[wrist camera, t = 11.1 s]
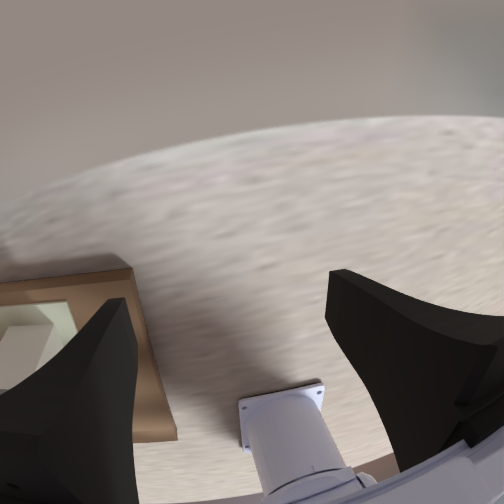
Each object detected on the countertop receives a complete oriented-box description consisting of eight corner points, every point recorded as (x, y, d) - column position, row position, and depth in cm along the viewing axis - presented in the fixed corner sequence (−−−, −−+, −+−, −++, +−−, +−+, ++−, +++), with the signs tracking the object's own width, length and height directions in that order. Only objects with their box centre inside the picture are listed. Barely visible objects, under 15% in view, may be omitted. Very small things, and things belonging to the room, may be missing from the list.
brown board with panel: (176, 428, 27) (177, 442, 25) (32, 428, 24) (29, 441, 22) (132, 268, 20) (129, 281, 18) (-47, 288, 17) (-57, 299, 15)
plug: (75, 369, 20) (57, 447, 14) (29, 369, 19) (4, 440, 13) (55, 322, 18) (24, 401, 12) (7, 325, 17) (-30, 395, 11)
